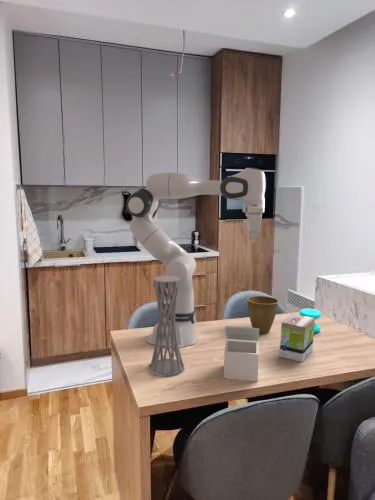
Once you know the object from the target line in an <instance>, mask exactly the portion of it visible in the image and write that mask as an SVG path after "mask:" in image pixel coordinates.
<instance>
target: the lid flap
mask: <svg viewBox="0 0 375 500" xmlns="http://www.w3.org/2000/svg"><path fill="white" fill-rule="evenodd" d="M224 327H225V334H226V339H227V340H238V341H252V342H259V341H260V340H259V339H260V334H259V328H252V327H244V326H243V327H242V326H232V325H231V326H229V325H225V326H224Z"/></svg>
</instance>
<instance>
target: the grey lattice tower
mask: <svg viewBox="0 0 375 500" xmlns="http://www.w3.org/2000/svg"><path fill="white" fill-rule="evenodd" d="M178 287H180V278H179V277H177V276H166V275H158V276H155V277H153V288H154V290H155V293H156V302H157V303H156V304H157V323H158V326H157V334H156V342H155V345H154V349H153V354H152V357H151V362H150V363H149V365H148V371H149V372H150V374H153V376H156V377H161V376H164V377H165V378H168V376H169V377H174V376H178V375H181V374H182V373H184V371H185V364H184V362H183V359H182V354H181V350H180V348H179V345H178V339H177V331H176V322H175V311H176V297H177V291H178ZM172 289H173V293H172ZM169 297H170V305H169ZM164 298H165V301H164ZM167 308H168V313H167V311H166V309H167ZM169 316H170V322H169ZM164 318H166V321H165V322H164ZM162 325H163V332H162ZM171 325H172V330H171ZM167 326H168V329H169V330H168V335H167V332H166V328H167ZM164 336H165V339H166V346H164V350H163V346H162V344H163V340H164ZM169 337H171V340H172V346H171V347H170V346H169ZM159 340H160V344H159V345H158V342H159ZM174 340H175V341H174ZM163 353H164V354H163ZM167 353H168V354H167ZM167 355H168V358H167Z"/></svg>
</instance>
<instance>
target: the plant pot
mask: <svg viewBox="0 0 375 500" xmlns="http://www.w3.org/2000/svg"><path fill="white" fill-rule="evenodd" d="M246 301H247V309H248V310H247V311H248V315H249V316H248V317H249V319H250V323H251V328H259V335H267V334H269V333H270V332H271V331H270V330H271V329H272V326H273V323H274V322H275V318H276V314H277V311H278V307H279V299H277V298H275V297H273V296H272V297H271V296H267V295H266V296H265V295H252V296H248V297H247V298H246Z"/></svg>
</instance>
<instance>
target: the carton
mask: <svg viewBox="0 0 375 500" xmlns="http://www.w3.org/2000/svg"><path fill="white" fill-rule="evenodd" d="M225 342H226V343H225V347H224V353H223V354H224V355H223V356H224V357H223V365H224V366H223V379H224V378H227V379H226V380H235V379H238V380H237V381H246V380H248V382H249V381H250V382H258V381H259V359H260V358H259V357H260V356H259V355H260V353H259V350H260V348H259V346H260V345H259V341H249V340H234V339H227V340H226V341H225Z"/></svg>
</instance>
